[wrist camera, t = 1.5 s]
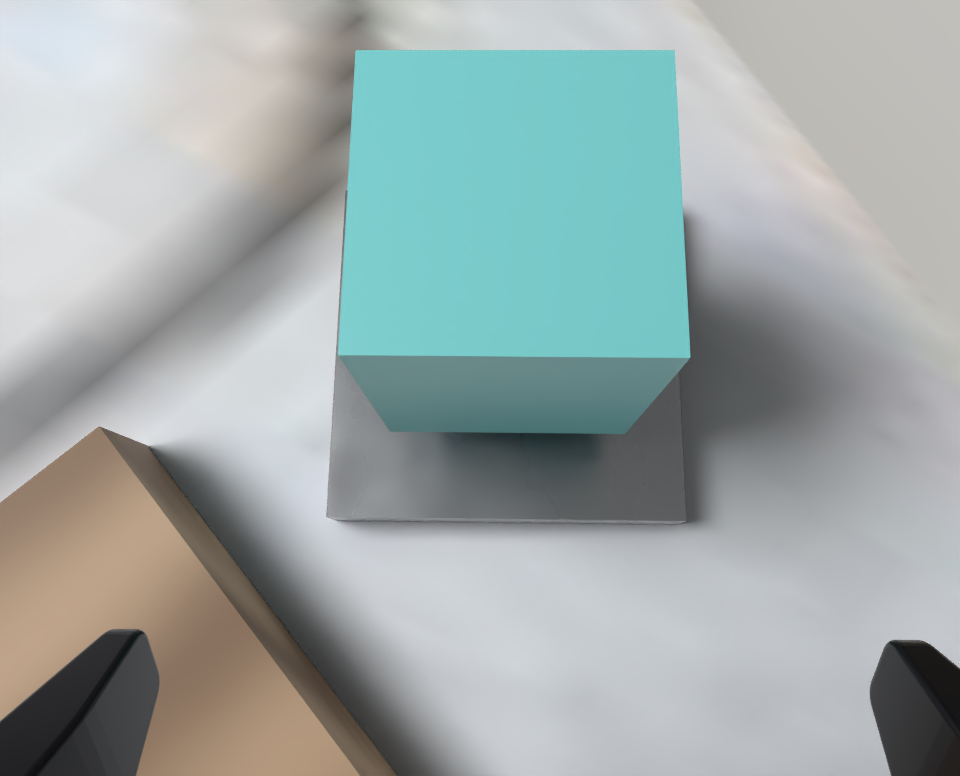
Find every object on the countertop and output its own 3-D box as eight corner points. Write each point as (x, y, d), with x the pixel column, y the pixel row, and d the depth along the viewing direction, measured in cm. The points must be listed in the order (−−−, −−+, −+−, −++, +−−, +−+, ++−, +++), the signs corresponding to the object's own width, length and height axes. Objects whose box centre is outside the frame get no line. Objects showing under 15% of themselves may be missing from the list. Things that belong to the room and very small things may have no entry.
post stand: (677, 524, 23) (752, 499, 16) (335, 520, 23) (269, 493, 17) (662, 209, 26) (723, 73, 19) (352, 208, 26) (301, 73, 19)
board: (444, 837, 21) (436, 877, 18) (137, 1123, 20) (75, 1216, 17) (147, 445, 24) (99, 426, 21) (-142, 672, 23) (-236, 685, 20)
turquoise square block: (624, 433, 20) (690, 357, 13) (390, 431, 20) (337, 355, 14) (618, 217, 22) (674, 50, 15) (399, 216, 22) (355, 49, 15)
